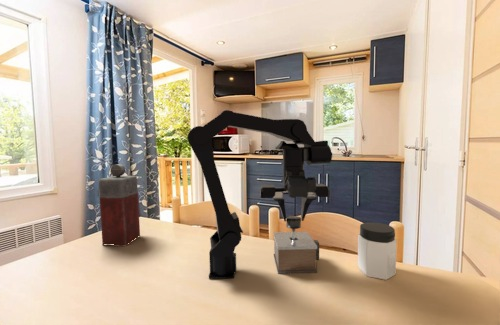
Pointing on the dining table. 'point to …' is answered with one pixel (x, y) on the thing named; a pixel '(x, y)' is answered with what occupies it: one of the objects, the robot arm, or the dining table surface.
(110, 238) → the red canister
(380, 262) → the jar
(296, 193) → the robot arm
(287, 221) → the plunger
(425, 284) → the dining table surface
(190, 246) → the dining table surface
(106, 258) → the dining table surface
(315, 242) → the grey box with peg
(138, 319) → the dining table surface
